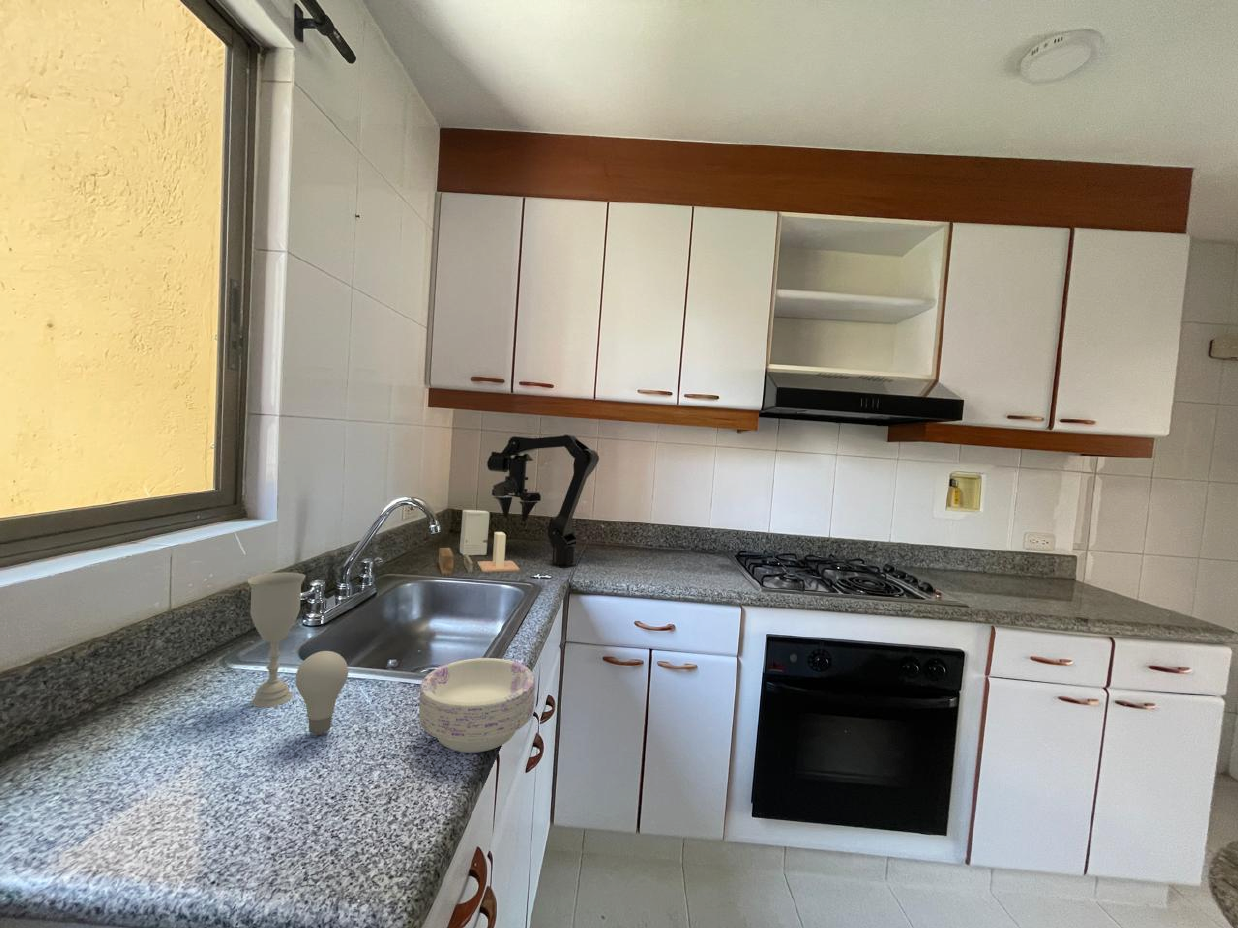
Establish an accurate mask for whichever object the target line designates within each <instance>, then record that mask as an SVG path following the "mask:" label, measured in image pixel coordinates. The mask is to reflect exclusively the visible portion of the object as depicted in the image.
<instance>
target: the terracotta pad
mask: <svg viewBox="0 0 1238 928" xmlns="http://www.w3.org/2000/svg"><path fill="white" fill-rule="evenodd" d="M477 565H478V566H479V568H480V569H481V571H482V573H487V572H490V573H491V572H517V571H518V572H519V571H520V568H519V566H517V564H516V563H515V562H514V561H513V560H504V567H495V566H494V564H493V560H490V561H489V560H486V561H485V560H484V561H483V560H482V561H477Z"/></svg>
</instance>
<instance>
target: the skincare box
mask: <svg viewBox="0 0 1238 928" xmlns="http://www.w3.org/2000/svg"><path fill="white" fill-rule="evenodd" d="M461 518H462V519H461V530H460V531H461V532H460V543H459V553H460V554H461V555H462V556H463V557H464V554H468V556H485V555H487V551H488V550H487V549H488V541H489V540H488V537H489V528H490V527H489V525H490V512H489V511H488V510H487V511H486V510H476V509H463V510H462V517H461Z"/></svg>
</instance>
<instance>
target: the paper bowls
mask: <svg viewBox="0 0 1238 928" xmlns="http://www.w3.org/2000/svg"><path fill="white" fill-rule="evenodd" d="M535 690H536V679H535V674H534V673H533V672H532V670H530V669H529V668H528V667H527V666H525V665H524V664H522V663H521V662H516V661H514V660H509V659H503V658H496V657H495V658H494V657H493V658H492V657H478V658H470V659H469V658H468V659H463V660H458V661H454V662H450V663H447V664H444V665H441V666H440V667H439V666H438V667H437V668H436V669H434V670H431V671H430V672H429V673H428V674H427V675H425V677H424V678H423V679H422V681H421V683H420V685H419V700H418V701H419V703H418V708H419V709H418V712H419V713H418V718H419V723H420V726H421V728H422V729H423V730H424V731H425V732H426V734H429V735H430V736H431V737H434V738H436V739H437V740H438V742H439V743H440V744H441V745H443V746H444V747H445V748H447V749H448V750H449V749H450V750H451V751H454V752H459V753H467V754H473V753H474V754H475V753H482V752H483V753H484V752H487V751H488V752H489V751H491V750H495V749H497V748H499V747H501V746H503V745H505V744H506V743H507V742H508V741H510V740H511V739H512V737H514V735H515V734H516V732H517V731H518V730H520V729H522V728H523V727H524V726H525V725H526V724H528V723H529V721H530V720H531V719H532V717H533V714H534V710H535V699H536V698H535V692H536V691H535Z"/></svg>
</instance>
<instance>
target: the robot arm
mask: <svg viewBox="0 0 1238 928" xmlns="http://www.w3.org/2000/svg"><path fill="white" fill-rule="evenodd" d="M554 448H555V449H556V448H565V449H566V451H567V452H568V453H569V455H570V456H571V457H572V458H574V459H573V464H572V465H573V468H572V469H573V474H572V477H571V481H570V483H569V486H568V488H567V491H566V494H565V496H564V499H563V501H562V505H561V508H560V509H559V512H558V514H557V515H555V516H551V517H550V518H549V523H548V526H547V527H545V528H546V535H547V538H548V539H549V540H550V544H551V547H552V548H553V549H552V562H549V563H548V564H549V565H551V566H555V567H559V568H563V569H564V568H569V567H573V566H574V567H575V566H577V563H575V562H574V554H575V547H574V546H576V545H577V543H578V538H577V536H576V535H575V534H574V533H573V532H572V530H573V526H574V524H573V521H574V520H573V517H574V515H575V512H576V508H577V507H578V503H579V501H580V498H581V495H582V492H583V490H584V487H585V485H586V482H587V479H588V477H589V476H590V475H591V474H592V472H593V471H594V470H595V468H596V467H597V465H598V463H599V460H600V456H599V455H598V452H597V451H596V450H595V449H592V448H589V446H587V445H586V444H585V443H583V442H582V441H580V440H579V439H578V438H577V437H576V436H575V435H573V434H564V435H558V436H557V435H556V436H545V437H528V436H518V435H517V436H511V437H510V438H509V439H508V442H507V444H506V446H505V447H504V448H503V450H502V451H501V452H499V451H491V455H490V456H489V457H488V460H487V465H486V466H487V468H488V470H489V472H497V473H498V472H499V473H507V472H508V475H506V476H505V477H504V480H503V481H500V482H499V483H496V484H494V485H493V486H492V487H493V488H492V490H491V496H494V499H496V500H497V501H498V502H499V504H500V506H501V510H502V511H501V512H502V515H503V518H505V519H506V518H508V516H509V513H510V509H511V504H512V501H513V497H515V498H520V501H519V504H520V505H521V521H522V522H524V523H525V522H526V521H527V519H528V518H529V515H530V514H531V512H532V511H533V508H534V507H535V506H536V505H537V504H538V503H539V502H541V500H542V495H541V493H540V492H539V491H538V492H537V491H532V490H531V491H528V489H527V488H526V481H529V477H528V476H527V462H532V461H534V460H533V458H532V457H531V456H530V455H529V453H531V452H534V451H536V450H541V449H542V450H543V449H544V450H545V449H554ZM522 454H523V455H522Z"/></svg>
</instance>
